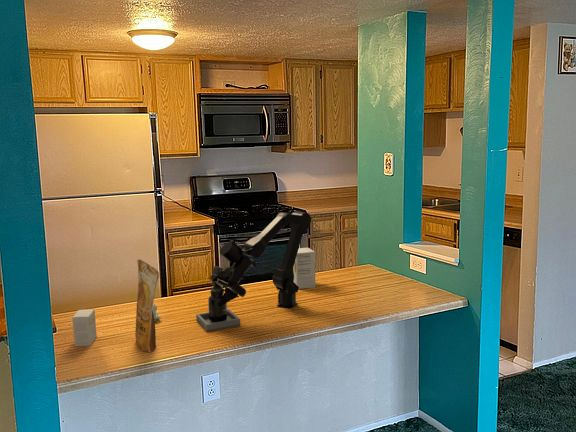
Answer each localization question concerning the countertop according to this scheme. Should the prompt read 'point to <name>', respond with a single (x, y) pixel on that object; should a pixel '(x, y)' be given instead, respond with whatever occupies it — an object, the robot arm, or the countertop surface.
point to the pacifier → (155, 312)
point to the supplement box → (304, 268)
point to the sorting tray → (209, 326)
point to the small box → (84, 327)
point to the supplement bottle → (214, 310)
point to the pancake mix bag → (146, 306)
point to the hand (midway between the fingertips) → (214, 303)
